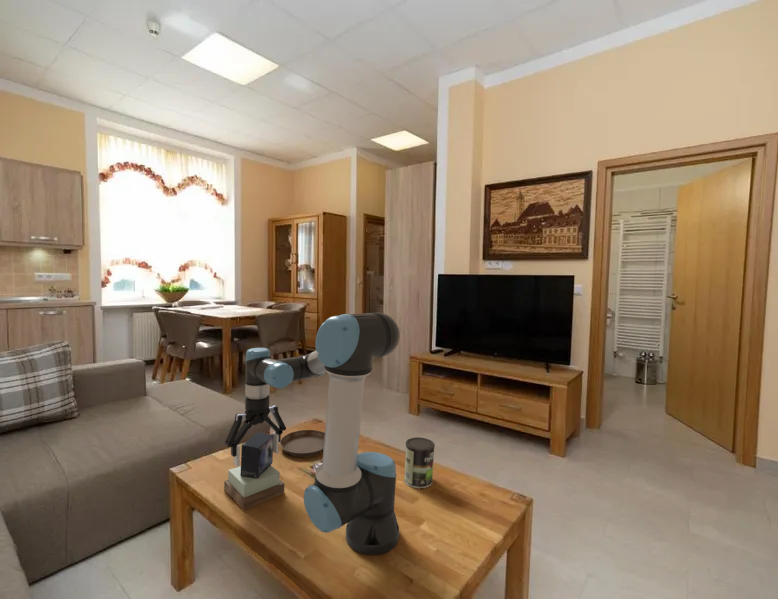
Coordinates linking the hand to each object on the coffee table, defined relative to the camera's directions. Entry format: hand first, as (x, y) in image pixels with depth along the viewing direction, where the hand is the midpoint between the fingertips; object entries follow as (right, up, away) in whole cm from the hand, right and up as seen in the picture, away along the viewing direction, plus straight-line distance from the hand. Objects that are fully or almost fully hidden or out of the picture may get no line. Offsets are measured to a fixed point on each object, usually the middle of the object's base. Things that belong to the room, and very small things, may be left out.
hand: (256, 458), depth 129 cm
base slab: (-1, -12, +1) cm, 12 cm away
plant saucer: (+9, -10, +34) cm, 36 cm away
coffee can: (+54, -13, +12) cm, 57 cm away
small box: (0, -4, +1) cm, 4 cm away
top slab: (-1, -8, 0) cm, 8 cm away
